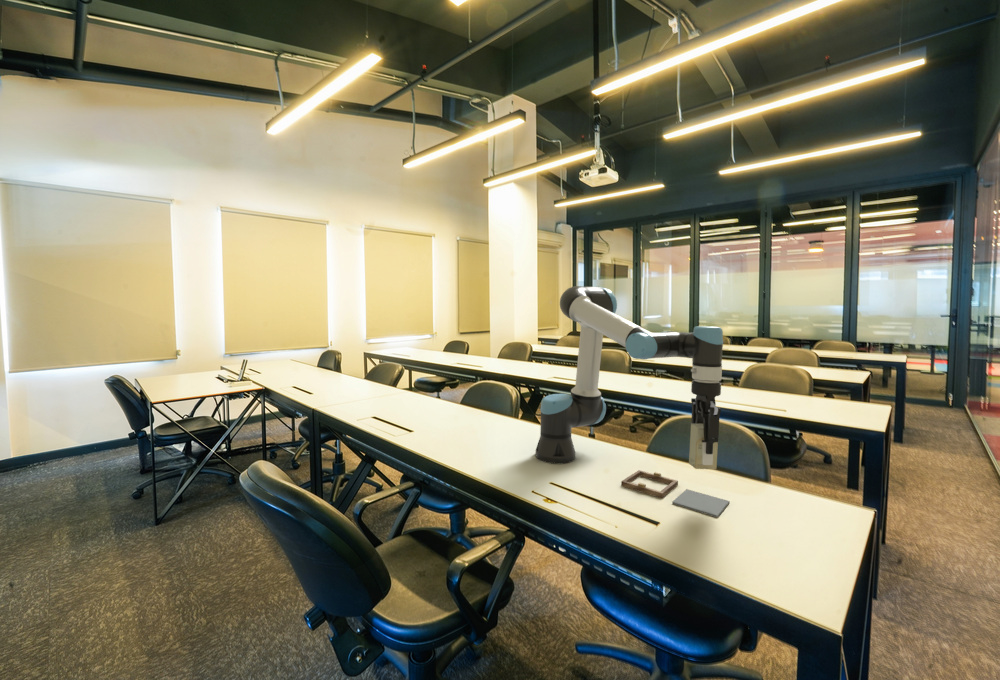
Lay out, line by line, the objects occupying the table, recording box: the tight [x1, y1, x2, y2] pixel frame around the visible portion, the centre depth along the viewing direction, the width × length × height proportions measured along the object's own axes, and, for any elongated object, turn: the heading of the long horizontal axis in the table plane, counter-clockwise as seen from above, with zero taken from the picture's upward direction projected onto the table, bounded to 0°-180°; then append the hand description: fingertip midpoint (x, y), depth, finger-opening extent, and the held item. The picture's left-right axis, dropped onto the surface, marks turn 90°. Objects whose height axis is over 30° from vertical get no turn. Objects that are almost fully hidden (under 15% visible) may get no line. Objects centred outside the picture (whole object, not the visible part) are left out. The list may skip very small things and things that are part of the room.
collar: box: [620, 469, 679, 499], centre depth 133 cm, size 13×13×2 cm
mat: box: [671, 488, 730, 518], centre depth 121 cm, size 12×12×1 cm
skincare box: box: [688, 422, 719, 470], centre depth 120 cm, size 6×4×12 cm
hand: (703, 461), depth 120 cm, fingers closed on skincare box, 4 cm apart
